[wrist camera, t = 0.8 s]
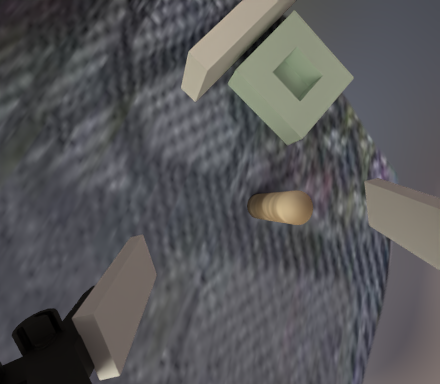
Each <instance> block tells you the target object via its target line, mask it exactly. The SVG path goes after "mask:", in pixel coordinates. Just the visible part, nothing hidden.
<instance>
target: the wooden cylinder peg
mask: <svg viewBox="0 0 440 384" xmlns="http://www.w3.org/2000/svg"><path fill="white" fill-rule="evenodd" d="M247 208H248V212H249V213H250V215H251V216H252V217H254V218H257V219H263V220H270V221H276V222H282V223H288V224H294V225H301V224H304V223H305V222H307V221H308V220H309V219H310V217H311V215H312V212H313V204H312V201H311V199H310V197H309V196H308V195H307V194H306V193H304V192H302V191H286V192H275V193H263V194H255V195H253V196H252V197H251V198H250V199H249V201H248V204H247Z"/></svg>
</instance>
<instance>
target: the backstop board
mask: <svg viewBox="0 0 440 384" xmlns="http://www.w3.org/2000/svg"><path fill="white" fill-rule="evenodd" d="M295 1H296V0H242V1H241V2H240V3H239V4H238V5H237V6H236V7H235V8H234V9H233V10H232V11H231V12H230V13H229V14H228V15H227V16H226V17H224V18H223V19H222V20H221V21H220V22H219V23H218V24H217V25H216V26H215V27H214V28H213V29H212V30H211V31H210V32H209V33H208V34H207V35H205V36H204V37H203V38H202V39H201V40H200V41H199V42H198V43H197V44H196V45H195V46H194V47H193V48H192V49H191V50H190V51H189V52H188V57H187V62H186V66H185V71H184V76H183V81H182V86H181V89H182V90H184V91H185V92H186V93H187V94H188V95H189V96H190V97H191V98H192V99H193V100H194V101H195V102H196V101H197V100H198V99H199V98H200V97H201V96H202V95H203V94H204V93H205V92H206V91H207V90H208V89H209V88H210V87H211V86H212V85H213V84H214V83H215V82H216V81H217V80H218V79H219V78H220V77H221V76H222V75H223V74H224V73H225V72H226V71H227V70H228V69H229V68H230V67H231V66H232V65H233V64H234V63H235V62H236V61H237V60H238V59H239V58H240V57H241V56H242V55H243V54H244V53H245V52H246V51H247V50H248V49H249V48H250V47H251V46H252V45H253V44H254V43H255V42H256V41H257V40H258V39H259V38H260V37H261V36H262V35H263V34H264V33H265V32H266V31H267V30H268V29H269V28H270V27H271V26H272V25H273V24H274V23H275V22H276V21H277V20H278V19H279V18H280V17H281V16H282V15H283V14H284V13H285V12H286V11H287V10H288V9H289V8H290V7H291V6H292V5H293V4H294V3H295Z"/></svg>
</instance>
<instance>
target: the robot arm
mask: <svg viewBox="0 0 440 384" xmlns="http://www.w3.org/2000/svg"><path fill="white" fill-rule="evenodd" d="M365 191H366V200H367V210H368V219H369V226H371V227H372V228H374V229H376V230H377V231H379V232H380V233H382V234H383V235H385V236H387V237H388V238H390V239H391V240H393V241H394V242H396V243H398V244H399V245H401V246H403V247H404V248H405V249H407V250H409V251H410V252H412V253H413V254H415V255H417V256H418V257H420V258H421V259H423V260H424V261H426V262H428V263H429V264H431V265H432V266H434V267H435V268H437V269H438V270H440V198H438V197H435V196H431V195H428V194H425V193H422V192H419V191H416V190H413V189H410V188H407V187H404V186H400V185H397V184H394V183H391V182H388V181H385V180H382V179H379V178H377V179H373V180H368V181H365ZM156 276H157V274H156V271H155V269H154V266H153V263H152V260H151V257H150V254H149V251H148V248H147V245H146V242H145V239H144V236H143V235H139V236H135V237H131V238H130V239H129V240H128V241H127V243H126V244H125V246H124V247H123V248H122V250H121V251H120V252H119V254H118V255H117V257H116V258H115V259H114V261H113V262H112V264H111V265H110V266H109V268H108V269H107V270H106V272H105V273H104V275H103V276H102V277H101V279H100V280H99V282H98V283H97V284H96V286H92V287H91V288H90V289H89V290H88V291H86V292H85V293H84V294H83V295H82V296H81V298H80V299H79V300H78V302H77V304H75V306H74V307H73V308H72V310H71V311H70V312H69V313H68V315H67V316H66V317H65V319H64V320H63V321H62V320H61V318H60V315H59V313H58V311H57V310H56V309H54V308H53V309H46V310H43V311H40V312H38V313H36V314H34V315H32V316H30V317H29V318H27V319H25V320H24V321H23V322H22V323H20V324H19V325H18V326H17V327H16V328H15V330H14V331H13V333H12V337H13V339H14V341H15V343H16V345H17V346H18V348H19V350H20V352H21V354H22V356H23V357H21V358H19V359H17V360H14V361H12V362H10V363H7V364H5V365H3V366H2V364H1V362H0V384H92V383H91V381H90V379H89V377H90V375H91V373H92V371H93V369H94V368H95V371H96V373H97V375H98V377H99V379H100V380H103V379H108V378H112V377H117V376H120V374H121V372H122V369H123V366H124V363H125V361H126V358H127V355H128V352H129V350H130V347H131V344H132V342H133V339H134V336H135V333H136V331H137V328H138V325H139V322H140V320H141V317H142V314H143V311H144V309H145V306H146V303H147V301H148V298H149V295H150V292H151V290H152V287H153V284H154V281H155V279H156Z"/></svg>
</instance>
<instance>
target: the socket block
mask: <svg viewBox="0 0 440 384" xmlns="http://www.w3.org/2000/svg"><path fill="white" fill-rule="evenodd" d="M353 78H354V77H353V76H352V75H351V74H350V73H349V71H348V70H347V69H346V68H345V67H344V66H343V65H342V64H341V62H340V61H339V60H338V59H337V58H336V57H335V56H334V54H333V53H332V52H331V51H330V50H329V49H328V48H327V46H326V45H325V44H324V43H323V42H322V41H321V40H320V38H319V37H318V36H317V35H316V34H315V33H314V32H313V30H312V29H311V28H310V27H309V26H308V25H307V24H306V22H305V21H304V20H303V19H302V18H301V17H300V16H299V15H298V13H297V12H296V11H295V10H294V11H293V12H292V13H291V14H290V15H289V16H288V17H287V18H286V19H285V20H284V21H283V22H282V23H281V24H280V25H279V26H278V27H277V28H276V29H275V30H274V31H273V32H272V33H271V34H270V36H269V37H268V38H267V39H266V40H265V41H264V42H263V43H262V44H261V45H260V46H259V47H258V48H257V49H256V50H255V51H254V52H253V53H252V54H251V55H250V56H249V57H248V58H247V59H246V60H245V61H244V62H243V63H242V64H241V65H240V66H239V67H238V68H237V69H236V70H235V72H234V74H233V75H232V77H231V79H230V80H229V82H228V85H229V86H230V87H231V88H232V89H233V90H234V91H235V92H236V93H237V94H238V95H239V96H240V97H241V98H242V99H243V100H244V101H245V102H246V104H247V105H248V106H249V107H250V108H251V109H252V110H253V111H254V112H255V113H256V114H257V115H258V116H259V117H260V118H261V119H262V120H263V121H264V122H265V123H266V124H267V125H268V126H269V127H270V128H271V129H272V130H273V131H274V132H275V133H276V134H277V135H278V136H279V137H280V138H281V139H282V140H283V141H284V142H285V143H286V144H287V145H289V144H292V143H294V142H296V141H298V140H301V139H303V137H304V136H305V135H306V134H307V133H308V132H309V130H310V129H311V128H312V127H313V126H314V124H315V123H316V122H317V121H318V120H319V119H320V117H321V116H322V115H323V114H324V113H325V112H326V110H327V109H328V108H329V107H330V106H331V104H332V103H333V102H334V101H335V100H336V99H337V97H338V96H339V95H340V94H341V93H342V91H343V90H344V89H345V88H346V87H347V86H348V84H349V83H350V82H351V81H352V79H353Z"/></svg>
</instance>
